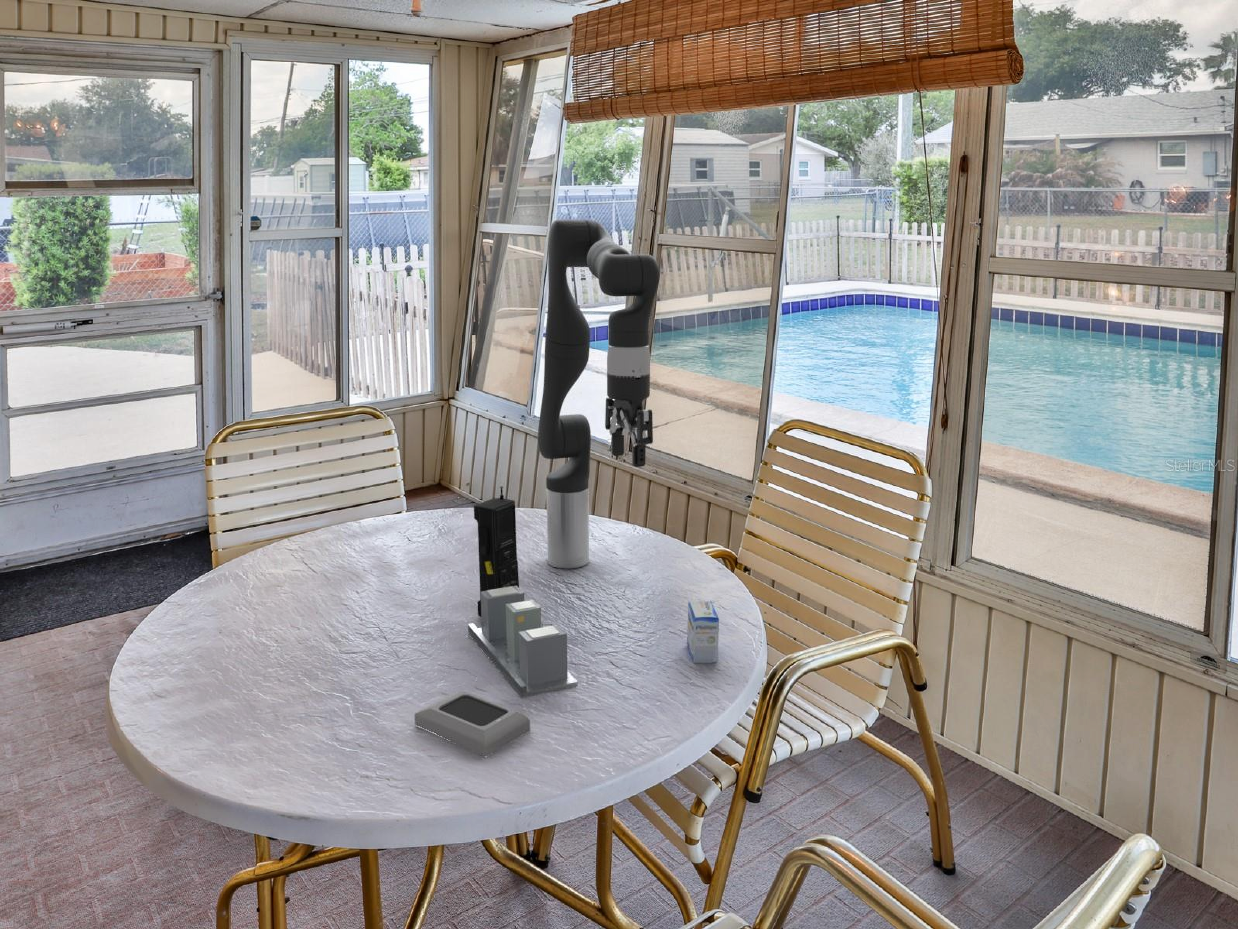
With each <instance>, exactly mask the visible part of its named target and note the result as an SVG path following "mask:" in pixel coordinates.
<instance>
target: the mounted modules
mask: <svg viewBox="0 0 1238 929" xmlns="http://www.w3.org/2000/svg"><path fill="white" fill-rule="evenodd" d="M522 601H525V592H524V591H523V590H522V589H521V588H520V586H519V587H518V586H510V587H504V588H498V589H492V590H487V591H481V617H480V618H481V628H482V633H483V634H484V635H485V636H486V638H487V639H488V640H494V639H499V638H504V637H507V633H506V604H510V603H516V602H522ZM519 666H520V677H521V678H522V679H523V681H524V682H525V683H526V684H527V685H528V686H531V685H536V684H541V683H545V682H550V681H555V680H559V679H564V678H568V677H567V671H568V633H567V632H566V631H565V630H564V629H563V628H562V627H561V626H560V625H559V624H555V625H548V626H543V627H542V626H541V628H537V629H532V630H526V631H521V632H519Z"/></svg>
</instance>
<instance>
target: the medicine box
mask: <svg viewBox="0 0 1238 929" xmlns="http://www.w3.org/2000/svg"><path fill="white" fill-rule="evenodd" d="M686 630H687V632H686V634H687V636H686V645H687V647H688V648H687V649H688V651H689V654H690V656H691V657H690V658H691V659H692V662H693V664H707V663H708V664H713V663H718V660H719V659H718V658H719V635H720V634H719V632H720V617H719V615H718V613H717V611H716V609H715V606H714V603H713V601H712V600H689V601H688V603H687V629H686Z"/></svg>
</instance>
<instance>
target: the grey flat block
mask: <svg viewBox="0 0 1238 929" xmlns="http://www.w3.org/2000/svg"><path fill="white" fill-rule="evenodd" d="M415 725H417V726H420V727H422V728H424V729H427V730H429V731H431V732H434V733H436V734H437V735H439V736H442V737H443V738H445V739H444V740H446V739H448V740H450V741H451V742H450V741H449V742H450V743H453V742H454V743H453V744H455V743H456V744H455V745H457V744H458V746H459V745H460V746H459V747H462V746H463V747H462V748H464V747H465V749H466V748H467V750H469V749H470V750H469V751H471V750H473V751H475V752H474V753H476V754H478V753H479V754H478V755H480V754H481V755H480V756H483V755H484V756H483V757H485V756H487V757H489V756H491V755H492V754H494V753H496V752H497V751H499V750H500V749H502V748H504V747H505V746H507V745H509V744H510V743H512V742H514V741H515V740H517V739H519V738H520V737H522V736H524V735H525V734H527V733H529V732H531V722H530V718H529V717H527V716H526V715H525V714H523V713H521V712H519V711H518V710H514V709H512V708H510V707H507V706H504V705H501V704H499V703H496V702H494V701H491V700H489V699H486V698H484V697H481V696H478V695H475V694H473V693H471V692H468V691H465V690H458V691H456V692H453V693H452V694H450V695H448V696H447V697H445V698H442V699H440V700H439V701H437V702H434V703H432V704H431V705H429V706H427V707H425V708H423V709H421V710H420V711H418V712H415V713H414V726H415ZM439 736H438V737H439ZM443 738H442V739H443ZM448 740H447V741H448ZM503 746H504V747H503ZM498 749H499V750H498ZM473 751H472V752H473ZM491 753H492V754H491ZM490 754H491V755H490ZM488 755H489V756H488Z"/></svg>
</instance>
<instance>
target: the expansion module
mask: <svg viewBox="0 0 1238 929" xmlns="http://www.w3.org/2000/svg"><path fill="white" fill-rule="evenodd" d="M537 628H542V608H541V606H540V605H539V604H538V603H537V602H536V601H535V600H534V599H527V600H524V601H522V602H516V603H510V604H506V633H507V652H508V653H509V655H510V656H511V657H512V658H513V659H514V660H515V661H516V660H519V632H521V631H526V630H532V629H537Z"/></svg>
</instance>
